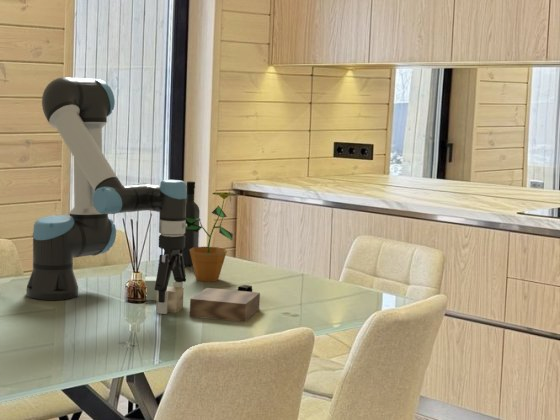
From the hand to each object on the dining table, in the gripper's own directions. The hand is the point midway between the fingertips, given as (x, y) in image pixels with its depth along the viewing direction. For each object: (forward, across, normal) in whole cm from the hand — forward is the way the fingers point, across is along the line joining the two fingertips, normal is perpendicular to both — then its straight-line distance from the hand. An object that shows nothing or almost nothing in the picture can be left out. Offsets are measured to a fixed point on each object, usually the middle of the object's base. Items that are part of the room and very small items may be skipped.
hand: (170, 308), depth 276 cm
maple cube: (0, 0, 0) cm, 0 cm away
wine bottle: (0, +68, +17) cm, 70 cm away
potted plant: (0, +46, +3) cm, 46 cm away
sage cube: (0, +12, +9) cm, 15 cm away
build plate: (+1, +22, -16) cm, 27 cm away
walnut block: (0, +2, -16) cm, 16 cm away
